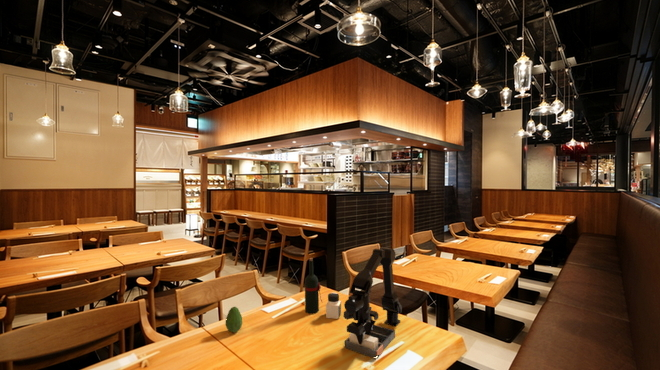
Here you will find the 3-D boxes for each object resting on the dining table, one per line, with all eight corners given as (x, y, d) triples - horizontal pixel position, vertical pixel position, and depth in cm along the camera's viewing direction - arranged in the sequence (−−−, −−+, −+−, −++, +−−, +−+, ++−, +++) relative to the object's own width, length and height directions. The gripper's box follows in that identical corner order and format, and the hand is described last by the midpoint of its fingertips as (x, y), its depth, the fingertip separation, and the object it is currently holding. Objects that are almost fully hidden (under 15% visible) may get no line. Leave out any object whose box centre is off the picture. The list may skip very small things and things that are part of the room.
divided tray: (366, 328, 143) (366, 322, 143) (395, 337, 134) (395, 330, 134) (344, 347, 126) (344, 340, 126) (376, 359, 117) (376, 352, 117)
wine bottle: (322, 313, 160) (321, 260, 160) (304, 314, 160) (303, 260, 160) (323, 307, 168) (322, 256, 168) (305, 308, 168) (304, 256, 168)
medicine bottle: (339, 319, 153) (338, 296, 153) (326, 318, 154) (325, 295, 154) (341, 313, 160) (340, 291, 160) (328, 312, 161) (328, 291, 161)
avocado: (237, 326, 147) (237, 302, 147) (245, 331, 142) (244, 307, 142) (222, 331, 142) (222, 307, 142) (229, 337, 136) (229, 312, 136)
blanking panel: (354, 341, 130) (353, 330, 130) (378, 350, 123) (378, 338, 123) (349, 345, 126) (349, 334, 126) (374, 354, 120) (374, 342, 120)
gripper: (357, 294, 137) (357, 327, 137) (335, 308, 122) (336, 345, 122) (378, 299, 131) (379, 333, 130) (358, 315, 115) (359, 353, 115)
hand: (363, 341), depth 125 cm, fingers open, 6 cm apart
